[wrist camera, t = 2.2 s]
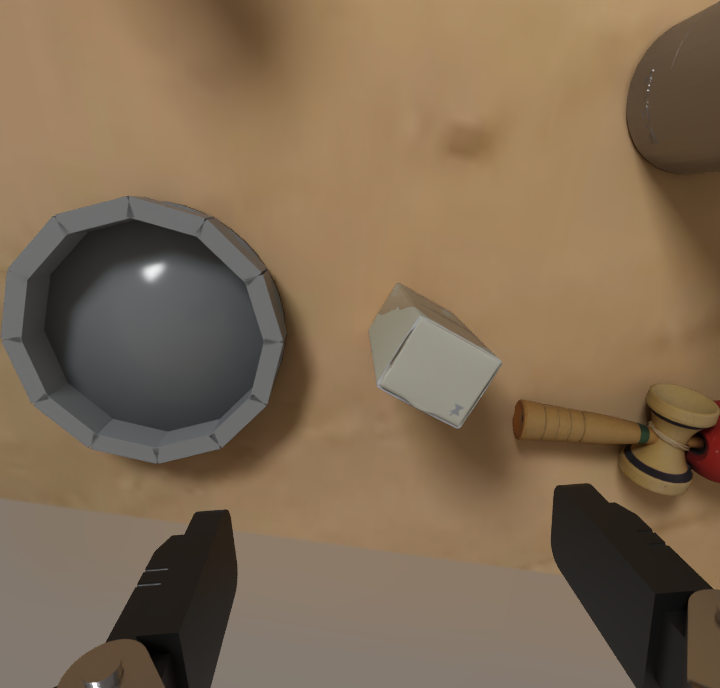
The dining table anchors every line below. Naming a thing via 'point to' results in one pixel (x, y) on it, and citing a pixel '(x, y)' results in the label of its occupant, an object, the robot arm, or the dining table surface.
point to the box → (429, 357)
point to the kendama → (640, 436)
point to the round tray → (144, 328)
